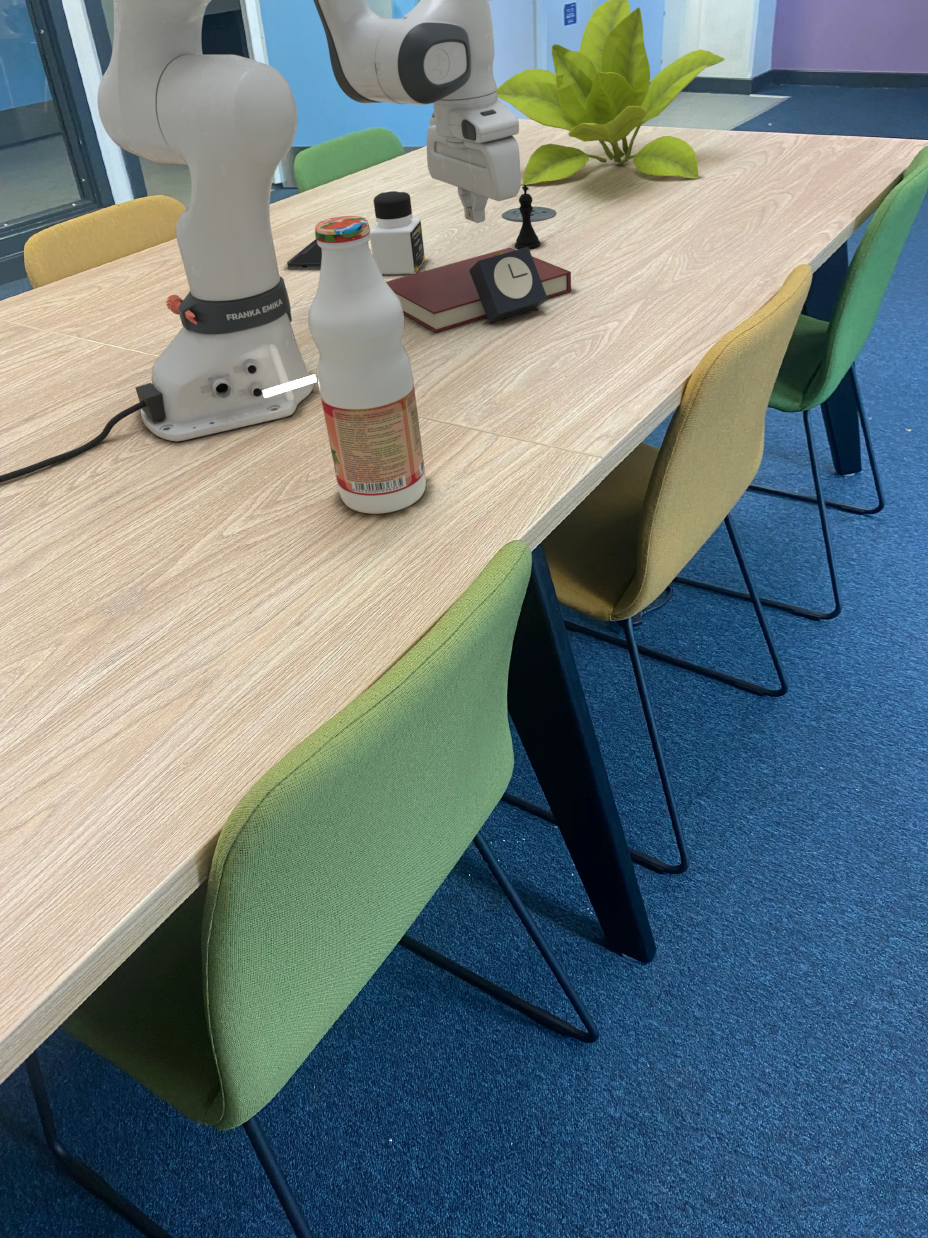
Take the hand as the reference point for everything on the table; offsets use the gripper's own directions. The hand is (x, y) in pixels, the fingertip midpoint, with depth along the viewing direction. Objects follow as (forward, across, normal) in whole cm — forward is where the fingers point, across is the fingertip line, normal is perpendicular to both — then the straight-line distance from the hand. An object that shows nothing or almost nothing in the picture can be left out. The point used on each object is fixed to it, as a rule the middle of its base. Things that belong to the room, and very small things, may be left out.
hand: (475, 220), depth 141 cm
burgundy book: (+12, -1, 0) cm, 12 cm away
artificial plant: (+13, -44, +58) cm, 74 cm away
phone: (+12, -39, -10) cm, 42 cm away
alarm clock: (+7, +9, 0) cm, 11 cm away
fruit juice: (+11, +44, -40) cm, 60 cm away
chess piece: (+12, -16, +20) cm, 28 cm away
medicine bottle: (+12, -22, -2) cm, 25 cm away
